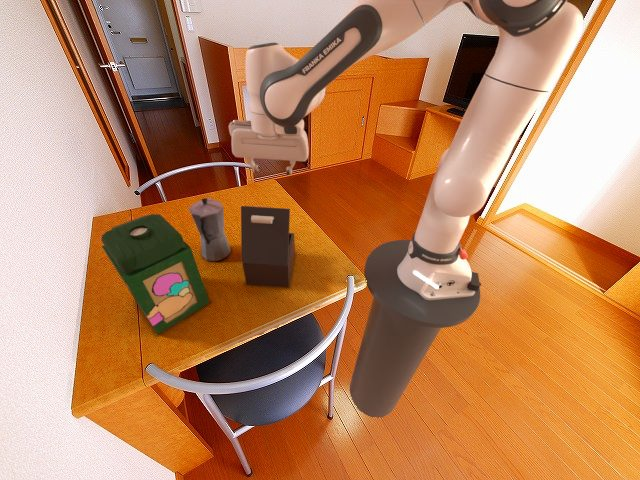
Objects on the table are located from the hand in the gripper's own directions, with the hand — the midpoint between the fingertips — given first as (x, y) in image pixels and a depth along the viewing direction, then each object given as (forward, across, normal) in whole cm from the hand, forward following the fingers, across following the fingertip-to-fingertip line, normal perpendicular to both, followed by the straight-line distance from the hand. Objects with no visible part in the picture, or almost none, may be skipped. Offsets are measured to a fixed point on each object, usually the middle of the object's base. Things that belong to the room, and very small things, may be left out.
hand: (272, 172), depth 77 cm
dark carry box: (+27, 0, -11) cm, 29 cm away
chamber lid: (+11, 0, -15) cm, 18 cm away
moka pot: (+27, -19, -6) cm, 34 cm away
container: (+27, -24, -26) cm, 45 cm away
